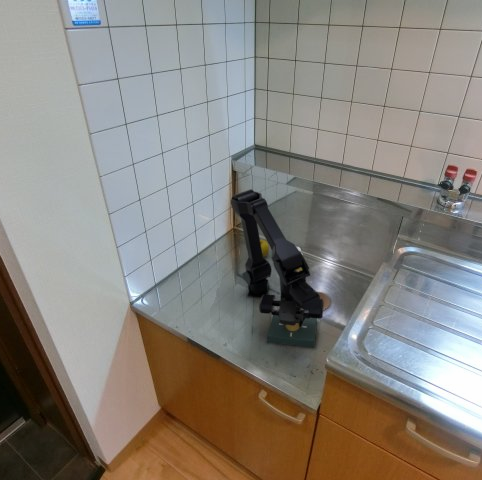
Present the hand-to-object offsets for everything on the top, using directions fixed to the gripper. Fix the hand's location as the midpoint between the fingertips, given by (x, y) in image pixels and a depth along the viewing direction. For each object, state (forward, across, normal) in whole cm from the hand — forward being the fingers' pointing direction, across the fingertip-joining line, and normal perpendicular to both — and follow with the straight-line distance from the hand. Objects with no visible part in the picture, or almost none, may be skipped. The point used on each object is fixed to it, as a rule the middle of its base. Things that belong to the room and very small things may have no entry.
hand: (292, 324), depth 115 cm
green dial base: (+3, 0, 0) cm, 3 cm away
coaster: (+3, +6, +14) cm, 16 cm away
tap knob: (0, 0, 0) cm, 0 cm away
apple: (+3, -18, +37) cm, 41 cm away
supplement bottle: (+3, -3, +30) cm, 30 cm away
